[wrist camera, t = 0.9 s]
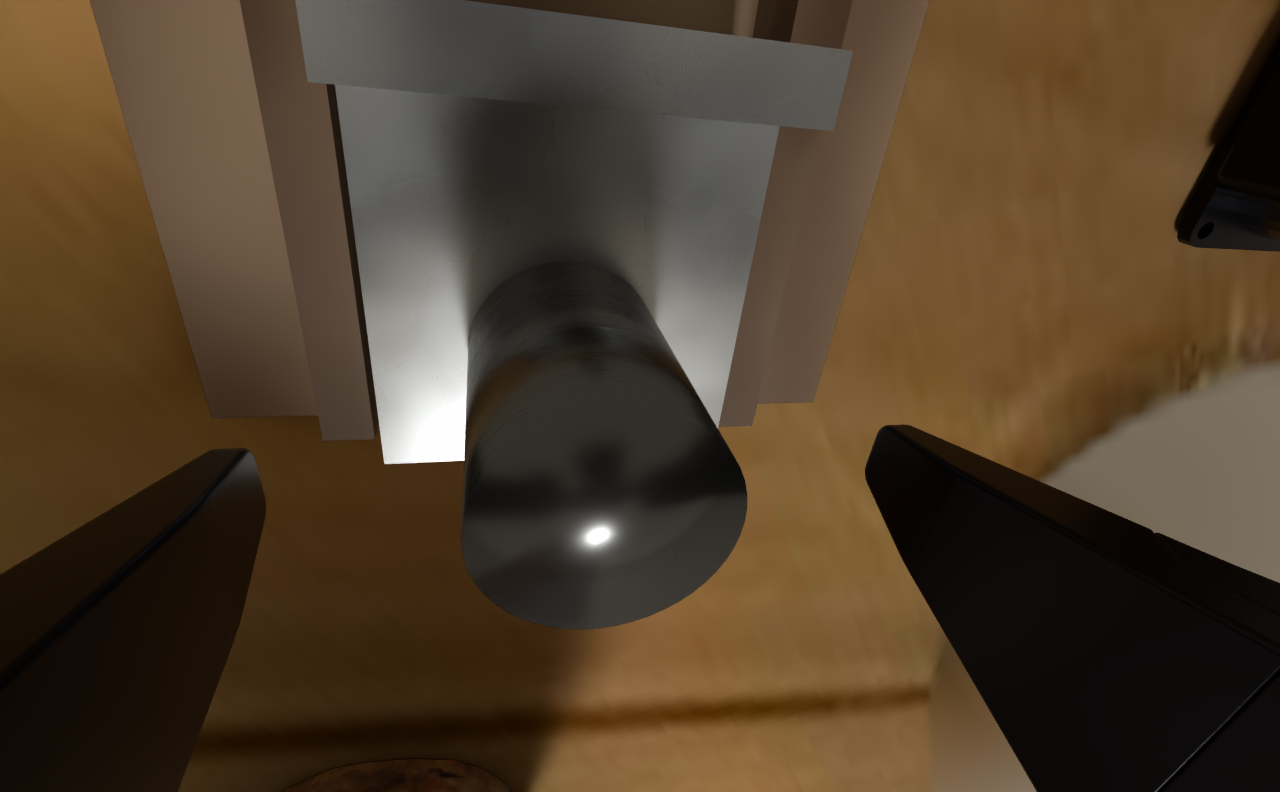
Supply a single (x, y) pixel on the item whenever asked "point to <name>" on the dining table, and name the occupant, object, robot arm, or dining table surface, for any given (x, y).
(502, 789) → the potted plant
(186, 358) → the dining table surface
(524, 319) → the metal press slider
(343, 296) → the press bed
